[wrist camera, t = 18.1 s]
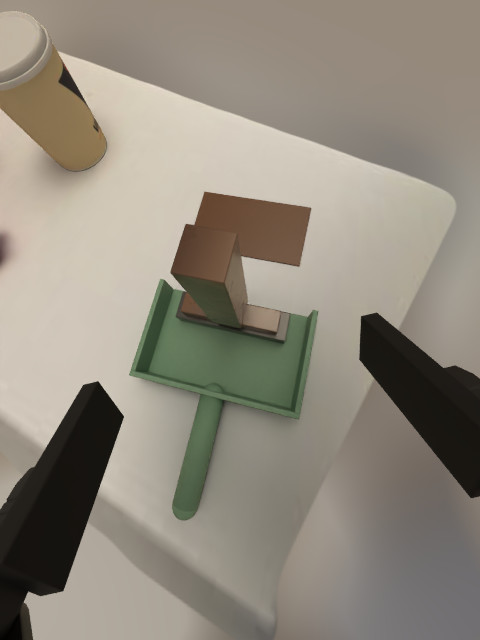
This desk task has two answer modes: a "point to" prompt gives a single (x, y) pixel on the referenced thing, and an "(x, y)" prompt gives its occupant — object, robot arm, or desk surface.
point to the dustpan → (219, 377)
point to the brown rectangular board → (258, 225)
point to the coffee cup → (45, 95)
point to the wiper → (220, 286)
